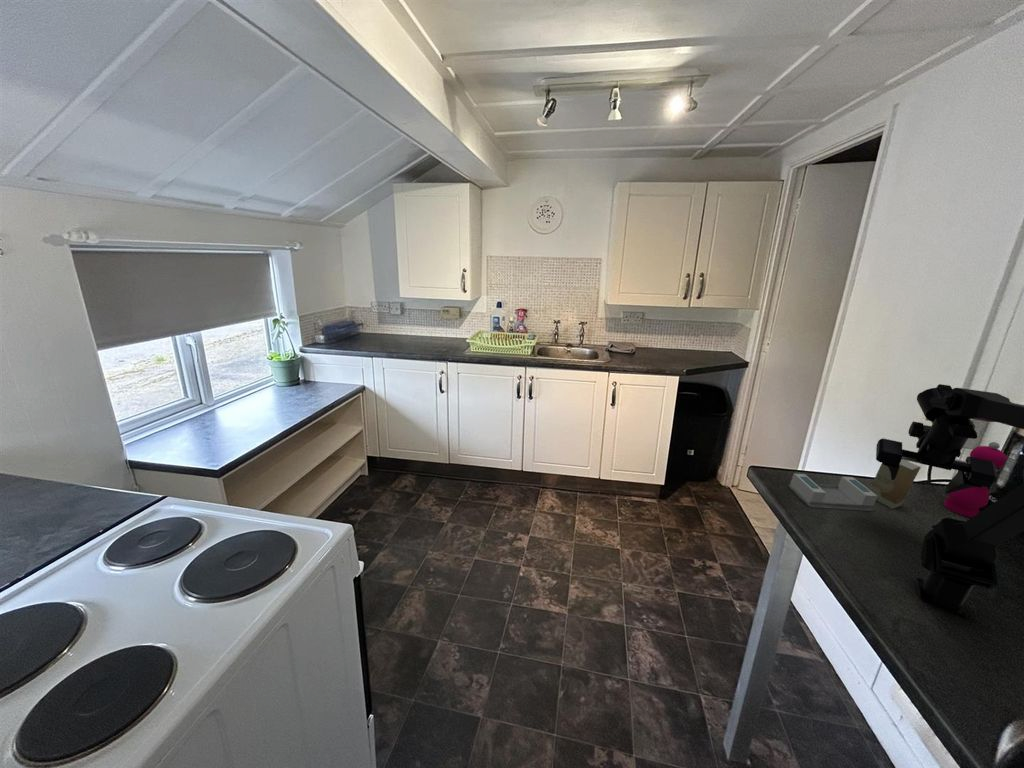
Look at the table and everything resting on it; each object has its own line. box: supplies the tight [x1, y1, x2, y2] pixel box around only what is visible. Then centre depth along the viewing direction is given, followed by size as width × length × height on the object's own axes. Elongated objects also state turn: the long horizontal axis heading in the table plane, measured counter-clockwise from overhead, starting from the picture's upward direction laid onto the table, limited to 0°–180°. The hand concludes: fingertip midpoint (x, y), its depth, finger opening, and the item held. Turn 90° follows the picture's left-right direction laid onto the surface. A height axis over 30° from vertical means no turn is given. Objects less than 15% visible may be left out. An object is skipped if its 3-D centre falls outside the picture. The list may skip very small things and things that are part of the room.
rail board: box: [788, 481, 875, 512], centre depth 109 cm, size 16×9×1 cm, turn 88°
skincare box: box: [868, 459, 922, 509], centre depth 108 cm, size 6×4×12 cm
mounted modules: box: [789, 472, 878, 507], centre depth 108 cm, size 16×8×4 cm, turn 88°
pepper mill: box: [943, 441, 1008, 518], centre depth 104 cm, size 7×7×20 cm
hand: (918, 485), depth 96 cm, fingers open, 9 cm apart
